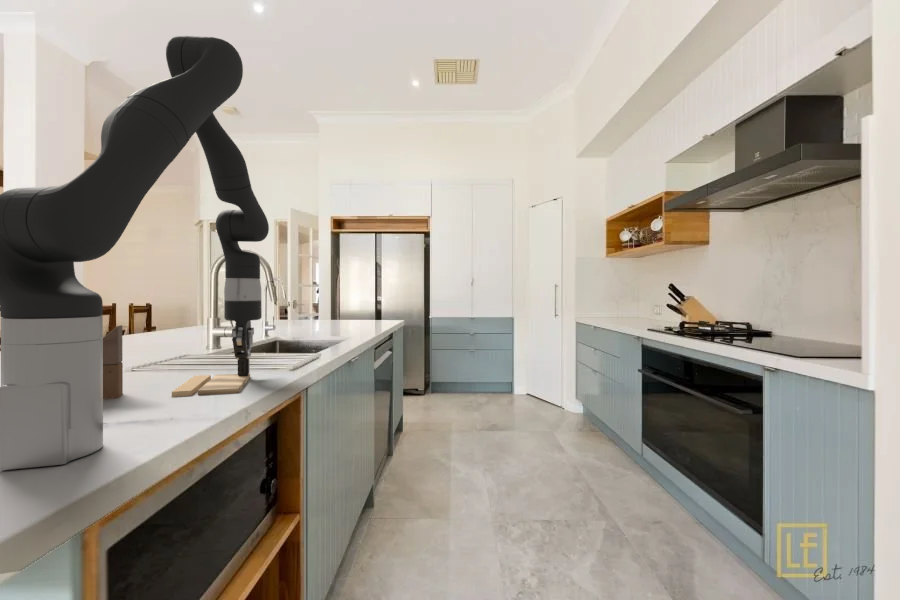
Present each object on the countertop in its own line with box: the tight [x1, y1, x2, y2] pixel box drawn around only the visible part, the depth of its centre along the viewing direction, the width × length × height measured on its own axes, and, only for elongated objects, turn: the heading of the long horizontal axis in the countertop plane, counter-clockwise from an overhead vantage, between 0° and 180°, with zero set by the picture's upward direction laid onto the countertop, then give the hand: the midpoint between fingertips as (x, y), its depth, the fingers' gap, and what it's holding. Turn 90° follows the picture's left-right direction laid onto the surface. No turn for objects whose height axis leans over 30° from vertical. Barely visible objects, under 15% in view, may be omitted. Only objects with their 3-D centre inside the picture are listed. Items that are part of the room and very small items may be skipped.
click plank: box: [197, 372, 251, 396], centre depth 88 cm, size 16×7×1 cm, turn 18°
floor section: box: [171, 374, 212, 398], centre depth 88 cm, size 17×12×2 cm
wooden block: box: [103, 324, 124, 400], centre depth 76 cm, size 4×11×18 cm, turn 118°
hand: (243, 375), depth 94 cm, fingers closed
